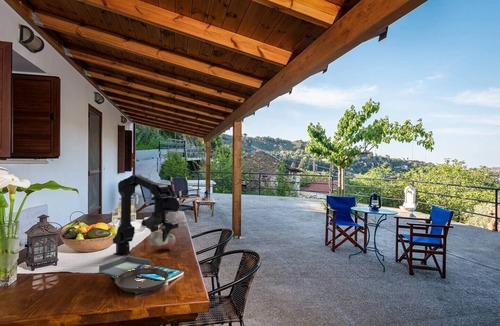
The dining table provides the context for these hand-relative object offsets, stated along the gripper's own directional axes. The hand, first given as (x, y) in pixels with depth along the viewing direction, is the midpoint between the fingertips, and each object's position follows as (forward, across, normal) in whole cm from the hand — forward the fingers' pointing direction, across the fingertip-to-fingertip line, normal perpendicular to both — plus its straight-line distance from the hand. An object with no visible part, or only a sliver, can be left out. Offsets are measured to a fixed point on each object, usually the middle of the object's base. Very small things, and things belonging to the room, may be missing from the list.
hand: (159, 241), depth 151 cm
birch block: (+1, 0, 0) cm, 1 cm away
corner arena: (+11, -7, -14) cm, 19 cm away
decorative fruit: (+11, -12, +21) cm, 27 cm away
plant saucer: (+11, +12, -24) cm, 29 cm away
